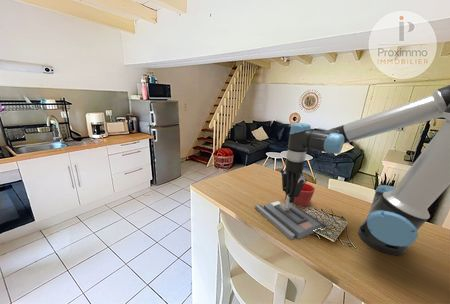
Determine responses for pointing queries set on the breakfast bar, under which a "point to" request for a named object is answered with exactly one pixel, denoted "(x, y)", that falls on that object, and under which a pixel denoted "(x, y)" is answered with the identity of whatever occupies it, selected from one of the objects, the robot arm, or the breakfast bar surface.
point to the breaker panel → (293, 219)
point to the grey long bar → (276, 222)
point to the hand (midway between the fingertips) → (288, 207)
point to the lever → (283, 204)
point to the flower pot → (304, 195)
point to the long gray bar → (311, 217)
